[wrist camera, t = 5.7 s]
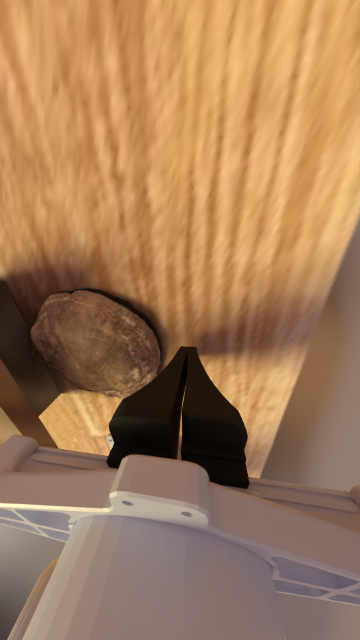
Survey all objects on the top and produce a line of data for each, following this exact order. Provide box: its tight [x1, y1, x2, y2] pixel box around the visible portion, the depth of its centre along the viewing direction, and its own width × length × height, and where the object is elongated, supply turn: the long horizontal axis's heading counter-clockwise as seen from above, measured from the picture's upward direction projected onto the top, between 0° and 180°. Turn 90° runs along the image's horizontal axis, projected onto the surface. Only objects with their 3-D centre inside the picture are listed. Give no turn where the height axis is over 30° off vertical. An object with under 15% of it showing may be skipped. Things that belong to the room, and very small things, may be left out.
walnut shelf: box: [0, 281, 60, 449], centre depth 13 cm, size 14×6×6 cm, turn 1°
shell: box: [30, 288, 162, 398], centre depth 13 cm, size 12×13×4 cm
